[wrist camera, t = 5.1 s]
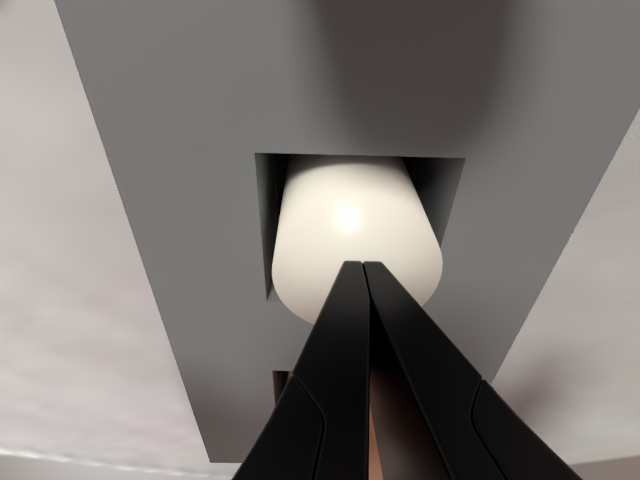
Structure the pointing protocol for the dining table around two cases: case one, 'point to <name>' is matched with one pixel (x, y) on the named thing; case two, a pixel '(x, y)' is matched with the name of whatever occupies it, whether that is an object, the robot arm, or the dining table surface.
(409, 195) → the plug white mid
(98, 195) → the dining table surface
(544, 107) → the socket board
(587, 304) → the dining table surface
